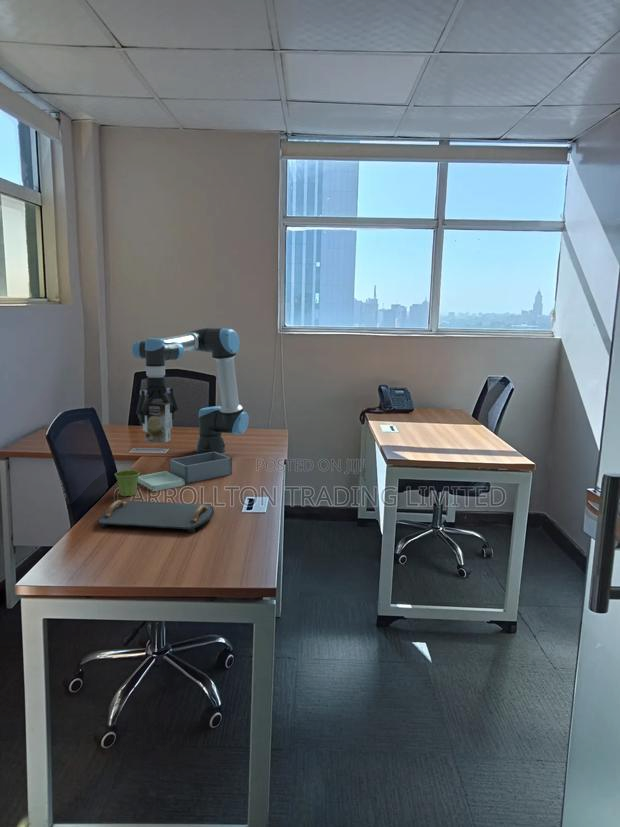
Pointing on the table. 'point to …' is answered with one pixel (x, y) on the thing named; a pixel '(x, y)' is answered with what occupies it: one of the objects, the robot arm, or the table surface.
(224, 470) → the grey storage bin
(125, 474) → the plant pot
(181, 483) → the tray
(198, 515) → the serving board
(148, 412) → the coffee box
